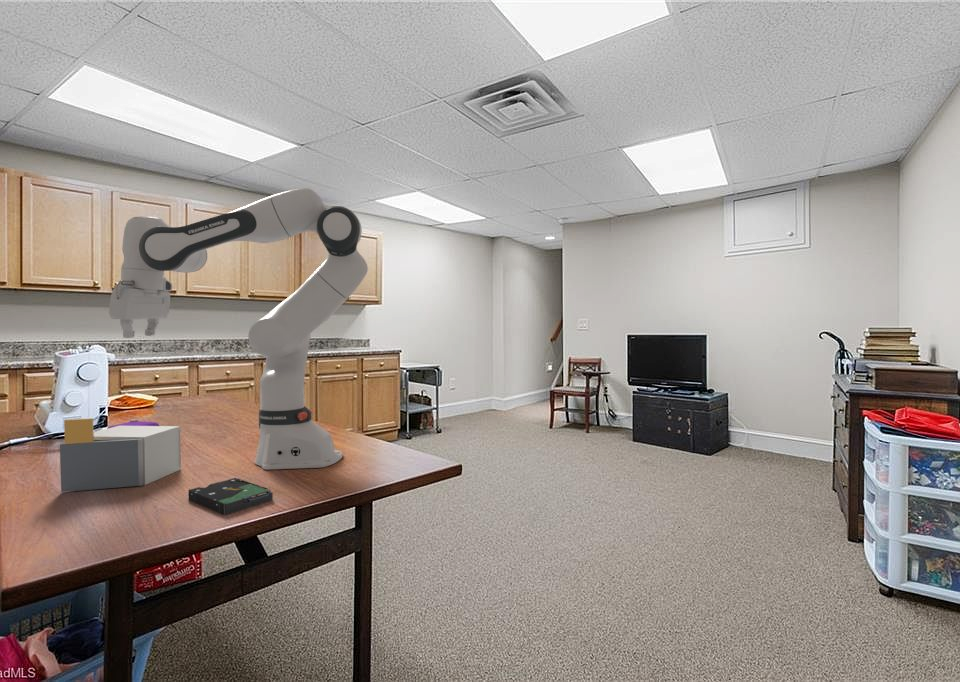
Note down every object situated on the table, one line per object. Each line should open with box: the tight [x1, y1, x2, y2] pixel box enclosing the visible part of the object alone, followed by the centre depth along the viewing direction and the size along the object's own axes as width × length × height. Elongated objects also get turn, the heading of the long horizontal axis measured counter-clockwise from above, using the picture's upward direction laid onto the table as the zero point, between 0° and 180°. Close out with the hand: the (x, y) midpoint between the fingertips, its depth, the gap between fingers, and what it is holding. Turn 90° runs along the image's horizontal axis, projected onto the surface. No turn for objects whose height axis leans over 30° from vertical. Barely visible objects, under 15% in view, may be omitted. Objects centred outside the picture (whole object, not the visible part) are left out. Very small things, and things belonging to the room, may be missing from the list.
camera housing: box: [94, 425, 182, 486], centre depth 118 cm, size 16×13×11 cm
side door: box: [59, 417, 145, 493], centre depth 108 cm, size 15×1×16 cm, turn 107°
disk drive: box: [187, 477, 273, 516], centre depth 102 cm, size 10×3×15 cm
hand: (139, 336), depth 123 cm, fingers open, 8 cm apart
